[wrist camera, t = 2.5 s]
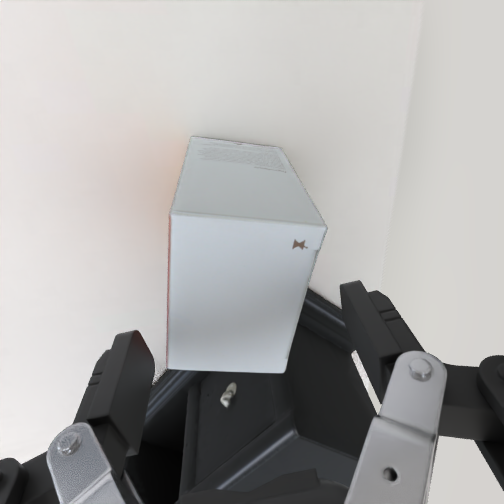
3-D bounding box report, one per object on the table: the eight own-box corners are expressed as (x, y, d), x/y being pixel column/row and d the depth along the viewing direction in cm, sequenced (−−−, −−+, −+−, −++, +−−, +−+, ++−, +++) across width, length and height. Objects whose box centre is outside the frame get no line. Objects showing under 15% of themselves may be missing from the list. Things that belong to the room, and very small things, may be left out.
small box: (190, 133, 20) (166, 206, 11) (283, 146, 21) (332, 223, 12) (184, 250, 24) (162, 373, 15) (262, 257, 25) (286, 377, 16)
